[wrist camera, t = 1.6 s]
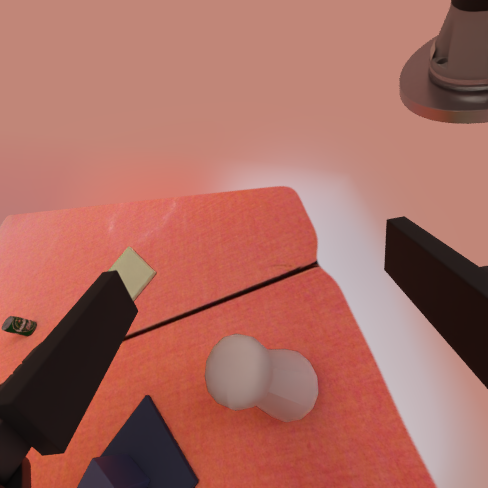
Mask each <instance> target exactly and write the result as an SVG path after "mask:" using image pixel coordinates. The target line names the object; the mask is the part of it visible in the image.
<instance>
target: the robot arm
mask: <svg viewBox="0 0 488 488" xmlns="http://www.w3.org/2000/svg"><path fill="white" fill-rule="evenodd" d="M428 72H429V76H430V78H431V80H432V81H433V82H434V83H436V84H437V85H439V86H441V87H444V88H447V89H452V90H458V91H481V90H488V0H451V6H450V9H449V12H448V14H447V16H446V19H445V21H444V24H443V26H442V28H441V31H440V33H439V35H438V38H437V40H436V42H435V40H434V42H433V45H432V47H431V50H430V59H429V70H428ZM385 247H386V248H385V268H384V270H385V271H386V272H387V273H388V274H389V276H390V277H391V278H392V279H393V280H394V281H395V283H396V284H397V285H398V286H399V287H400V288H401V289H402V291H403V292H404V293H405V294H406V295H407V296H408V297H409V299H410V300H411V301H412V302H413V303H414V304H415V306H416V307H417V308H418V309H419V310H420V311H421V313H422V314H423V315H424V316H425V317H426V318H427V319H428V321H429V322H430V323H431V324H432V325H433V326H434V327H435V329H436V330H437V331H438V332H439V333H440V334H441V336H442V337H443V338H444V339H445V340H446V341H447V343H448V344H449V345H450V346H451V347H452V348H453V349H454V350H455V352H456V353H457V354H458V355H459V356H460V357H461V359H462V360H463V361H464V362H465V363H466V364H467V366H468V367H469V368H470V369H471V370H472V371H473V372H474V374H475V375H476V376H477V377H478V378H479V379H480V381H481V382H482V383H483V384H484V385H485V386H486V387H487V389H488V266H483V267H478V266H477V265H475V264H474V263H472V262H471V261H470V260H468V259H467V258H465V257H464V256H462V255H461V254H459V253H458V252H456V251H455V250H453V249H452V248H450V247H449V246H447V245H446V244H444V243H443V242H441V241H440V240H439V239H437V238H435V237H434V236H433V235H431V234H430V233H428V232H427V231H425V230H424V229H422V228H421V227H419V226H418V225H416V224H415V223H413V222H412V221H410V220H409V219H407V218H406V217H399V218H393V219H388V220H387V226H386V246H385ZM137 313H138V309H137V307H136V305H135V303H134V302H133V300H132V298H131V296H130V294H129V292H128V290H127V288H126V286H125V284H124V282H123V281H122V279H121V277H120V275H119V273H118V271H117V270H113V271H108V272H103V273H102V274H101V275H100V276H99V277H98V278H97V280H96V281H95V282H94V283H93V284H92V285H91V287H90V288H89V289H88V290H87V291H86V292H85V294H84V295H83V296H82V297H81V298H80V299H79V300H78V302H77V303H76V304H75V305H74V306H73V307H72V309H71V310H70V311H69V312H68V313H67V314H66V316H65V317H64V318H63V319H62V320H61V321H60V322H59V324H58V325H57V326H56V327H55V328H54V329H53V331H52V332H51V333H50V334H49V335H48V336H47V338H46V339H45V340H44V341H43V342H42V343H40V344H39V345H38V346H37V347H35V348H34V349H33V350H32V351H31V352H30V353H29V355H28V356H27V357H26V358H25V359H24V360H23V361H22V364H20V365H19V366H18V367H17V368H16V369H15V371H14V372H13V374H12V375H10V376H9V377H8V379H7V380H6V381H5V382H4V383H3V384H2V385H1V386H0V488H31V465H30V462H29V460H28V459H27V458H26V457H25V456H26V455H27V453H28V451H29V450H30V448H31V447H33V448H34V449H36V450H37V451H38V452H39V453H40V454H41V455H42V456H44V455H53V454H62V453H64V452H65V450H66V448H67V446H68V444H69V443H70V441H71V439H72V437H73V435H74V433H75V431H76V429H77V427H78V425H79V423H80V422H81V420H82V418H83V416H84V414H85V412H86V410H87V408H88V406H89V404H90V402H91V401H92V399H93V397H94V395H95V393H96V391H97V389H98V387H99V385H100V383H101V381H102V380H103V378H104V376H105V374H106V372H107V370H108V368H109V366H110V364H111V362H112V360H113V359H114V357H115V355H116V353H117V351H118V349H119V347H120V345H121V343H122V341H123V339H124V338H125V336H126V334H127V332H128V330H129V328H130V326H131V324H132V322H133V320H134V318H135V317H136V315H137Z"/></svg>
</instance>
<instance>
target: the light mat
mask: <svg viewBox="0 0 488 488" xmlns="http://www.w3.org/2000/svg"><path fill="white" fill-rule="evenodd" d="M113 270H117V271H118V273H119V275H120V277H121V279H122V281H123V282H124V284H125V286H126V288H127V290H128V292H129V294H130V296H131V298H132V300H133V301H134V300H135V299H136V298H137V296H138V295H139V294H140V293H141V292H142V290H143V289H144V288H145V287H146V285H147V284H148V283H149V282H150V280H151V279H152V278H153V277H154V276H155V274H156V272H155V271H154V270H153V269H152V268H151V267H150V266H149V265H148V264H147V263H146V262H145V261H144V260H143V259H142V258H141V257H140V256H139V255H138V254H137V253H136V252H135V251H134V250H133V249H132V248H131V247H128V248H127V249H126V250H125V251H124V253H123V254H122V255H121V256H120V257H119V258H118V260H117V261H116V262H115V263H114V264H113V265H112V267H111V268H110V269H109V270H108V271H113ZM108 271H107V272H108Z"/></svg>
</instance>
